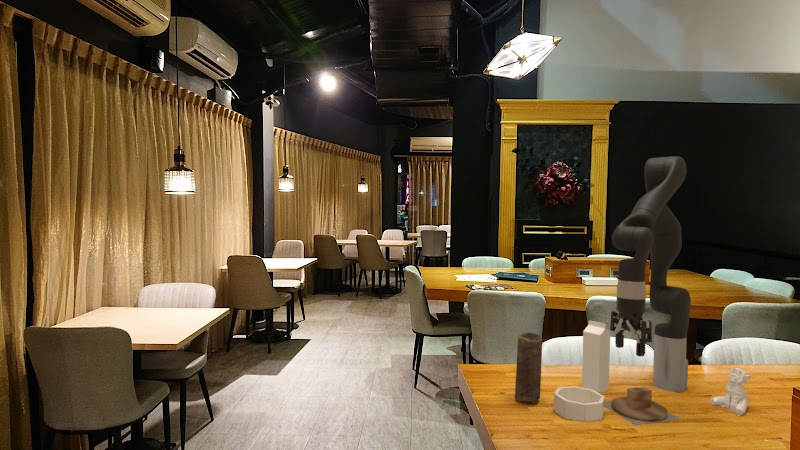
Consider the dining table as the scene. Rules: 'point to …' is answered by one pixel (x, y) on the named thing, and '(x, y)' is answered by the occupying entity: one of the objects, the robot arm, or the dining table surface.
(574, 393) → the bowl
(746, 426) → the dining table surface
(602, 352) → the milk
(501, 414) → the dining table surface
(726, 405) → the sitting furry creature
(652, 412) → the lid
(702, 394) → the dining table surface
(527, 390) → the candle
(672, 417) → the mat
